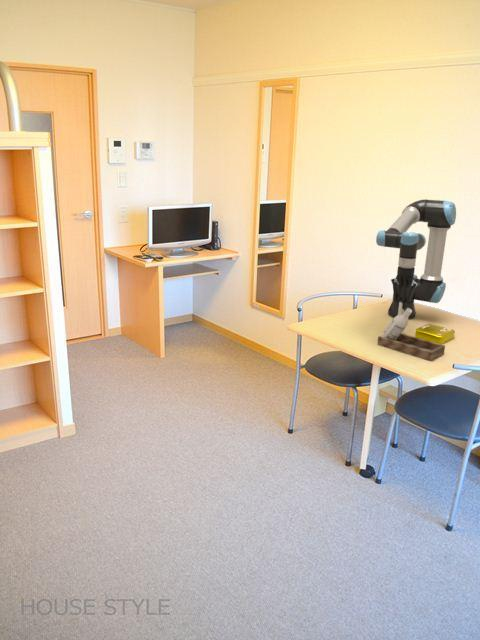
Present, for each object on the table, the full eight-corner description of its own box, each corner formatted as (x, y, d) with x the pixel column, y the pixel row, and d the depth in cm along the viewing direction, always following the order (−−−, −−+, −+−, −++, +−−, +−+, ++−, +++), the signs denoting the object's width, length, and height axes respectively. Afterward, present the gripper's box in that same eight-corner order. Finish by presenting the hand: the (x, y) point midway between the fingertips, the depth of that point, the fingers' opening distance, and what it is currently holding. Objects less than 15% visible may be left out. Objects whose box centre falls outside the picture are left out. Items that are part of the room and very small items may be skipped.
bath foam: (396, 344, 264) (419, 315, 252) (385, 344, 261) (408, 315, 248) (388, 333, 268) (410, 304, 256) (378, 334, 265) (400, 304, 253)
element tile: (427, 330, 283) (428, 322, 281) (455, 338, 273) (456, 329, 271) (413, 337, 273) (414, 328, 272) (441, 345, 263) (442, 336, 261)
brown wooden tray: (377, 344, 262) (378, 337, 260) (391, 338, 270) (392, 330, 269) (431, 361, 243) (432, 352, 242) (443, 353, 252) (445, 345, 251)
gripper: (389, 265, 250) (384, 313, 258) (415, 270, 242) (409, 319, 249) (397, 262, 256) (392, 310, 263) (423, 267, 247) (417, 316, 255)
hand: (400, 314), depth 256 cm, fingers closed
